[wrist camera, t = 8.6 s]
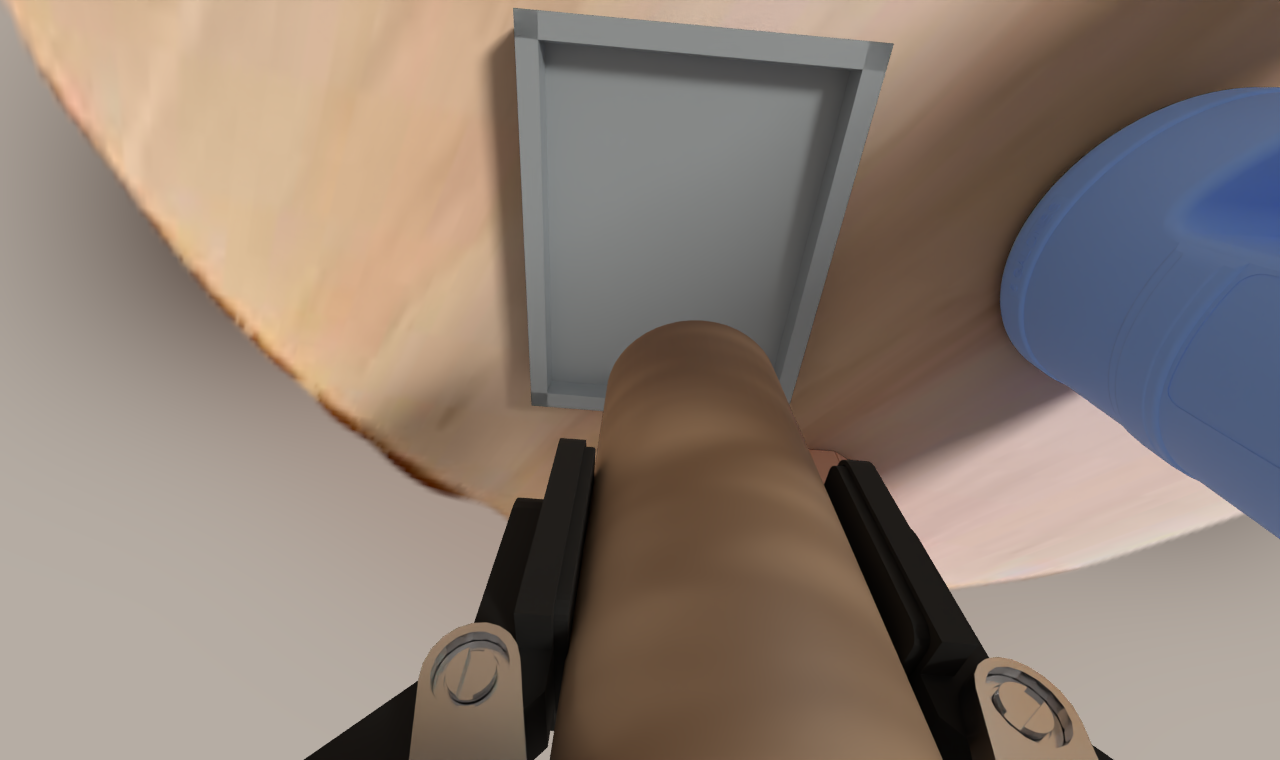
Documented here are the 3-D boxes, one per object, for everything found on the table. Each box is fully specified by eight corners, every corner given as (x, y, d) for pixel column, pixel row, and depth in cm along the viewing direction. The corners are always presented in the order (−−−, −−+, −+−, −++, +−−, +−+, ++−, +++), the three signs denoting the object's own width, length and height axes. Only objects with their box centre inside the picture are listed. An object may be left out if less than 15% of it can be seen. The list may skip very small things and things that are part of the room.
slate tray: (871, 47, 22) (893, 43, 20) (775, 403, 33) (783, 425, 31) (526, 15, 22) (513, 7, 20) (539, 384, 33) (531, 405, 30)
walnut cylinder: (795, 327, 13) (1068, 785, 4) (757, 468, 16) (885, 929, 7) (610, 313, 13) (526, 753, 4) (603, 456, 16) (541, 912, 7)
